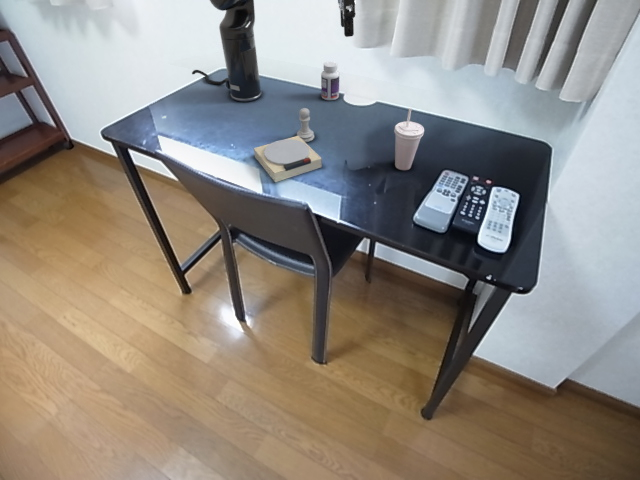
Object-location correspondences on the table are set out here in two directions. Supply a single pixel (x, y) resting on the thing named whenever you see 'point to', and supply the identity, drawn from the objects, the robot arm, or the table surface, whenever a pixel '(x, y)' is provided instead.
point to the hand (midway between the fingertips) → (347, 31)
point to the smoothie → (406, 142)
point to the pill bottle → (330, 81)
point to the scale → (287, 158)
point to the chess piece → (305, 126)
